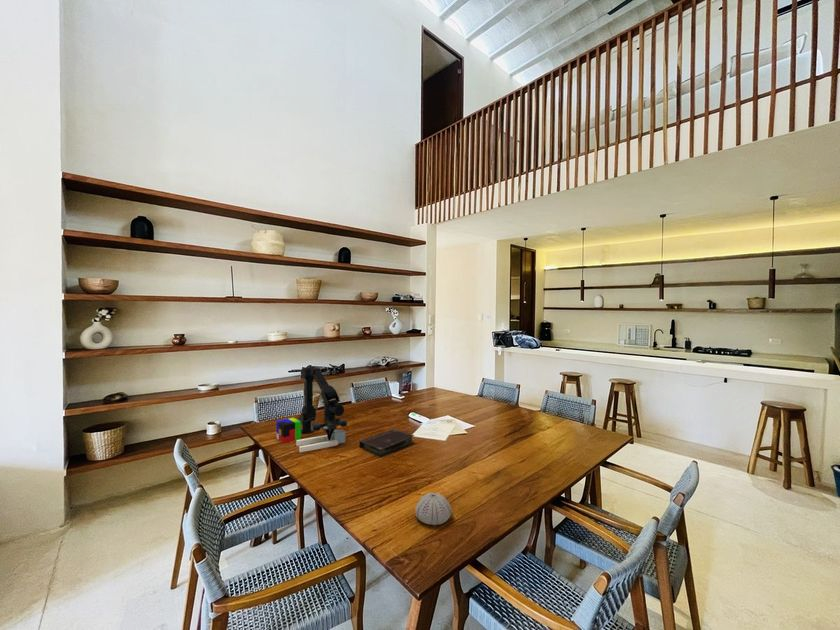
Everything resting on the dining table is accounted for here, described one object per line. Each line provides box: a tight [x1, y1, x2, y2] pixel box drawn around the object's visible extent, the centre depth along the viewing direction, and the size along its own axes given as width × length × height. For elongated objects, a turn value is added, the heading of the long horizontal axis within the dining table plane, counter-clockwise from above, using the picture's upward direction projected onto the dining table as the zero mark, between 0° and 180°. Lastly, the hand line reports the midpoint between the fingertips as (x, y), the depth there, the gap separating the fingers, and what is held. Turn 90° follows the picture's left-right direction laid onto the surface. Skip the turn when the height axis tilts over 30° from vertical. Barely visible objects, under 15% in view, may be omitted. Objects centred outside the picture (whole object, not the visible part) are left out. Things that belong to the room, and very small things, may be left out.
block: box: [332, 429, 346, 445], centre depth 194 cm, size 6×6×6 cm
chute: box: [295, 434, 339, 453], centre depth 189 cm, size 12×20×2 cm, turn 119°
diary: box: [358, 428, 415, 458], centre depth 189 cm, size 19×25×5 cm
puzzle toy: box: [276, 417, 302, 444], centre depth 198 cm, size 10×10×10 cm
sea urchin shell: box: [414, 492, 452, 526], centre depth 125 cm, size 13×14×8 cm
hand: (329, 439), depth 192 cm, fingers closed
